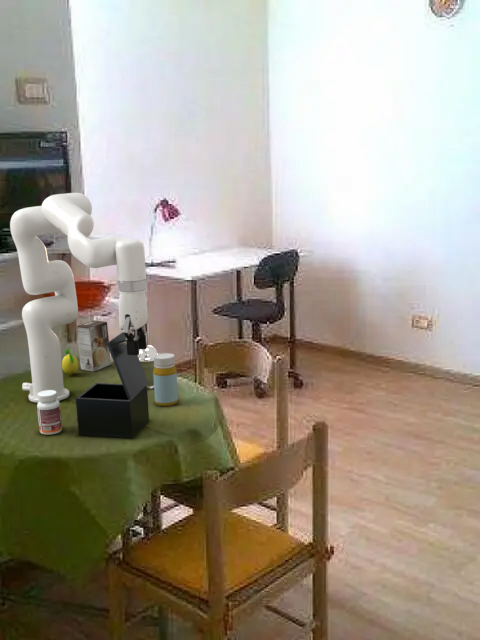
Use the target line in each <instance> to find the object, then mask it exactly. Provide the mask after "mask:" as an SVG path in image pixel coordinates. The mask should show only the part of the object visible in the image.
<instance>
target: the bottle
mask: <svg viewBox="0 0 480 640" xmlns="http://www.w3.org/2000/svg"><path fill="white" fill-rule="evenodd" d="M175 360H176V358H175V354H174V353H171V352H160V353H158V354H156V355H155V356H154V366H155V367H154V370H153V376H154V388H153V393H154V403H155V404H156V405H157V406H160V407H171V406H174V405H176V404H177V403H178V401H179V392H178V390H179V389H178V374H177V373H178V372H177V368H176V361H175Z"/></svg>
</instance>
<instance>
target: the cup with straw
mask: <svg viewBox="0 0 480 640" xmlns="http://www.w3.org/2000/svg"><path fill="white" fill-rule="evenodd" d="M131 333H134V332H133V331H131ZM145 335H146V344H147V348H146V349H139V355H138V358H139V361H140V363H141V366H142V368H143V371H144V374H145V376H146V379H147V382H148V384H147V390H151V389H154V376H153V370H154V367H155V366H154V356H155V355H156V354H159V353H158V351H157V349H156V348H155V347H154V346H152V345H149V344H148V334H147V331H146V334H145Z"/></svg>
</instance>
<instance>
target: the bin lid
mask: <svg viewBox="0 0 480 640" xmlns="http://www.w3.org/2000/svg"><path fill="white" fill-rule="evenodd" d="M139 339H140V335H139V334H137V340H139ZM107 345H108V348H109V351H110V357H111V359H112V360H113V363H114V366H115V369H116V371H117V374H118V377H119V380H120V382H121V384H122V385H123V387H124V390H125V392H126V395H127V398H128V400H130V399H132V398H133V397H134V396H135V395H136V394H137V393H138V392H139V391H140V390H141V389H142V388H143V387H145V386H146V385H147V384H148V382H147V379H146V376H145V374H144V371H143V368H142V366H141V363H140V361H139V358H138V355H128V354H127V343H126V337H125V335H124V333H123V331H121V332H120V333H119V334H117V335H115V337H113V338H112V339H109V342H107Z"/></svg>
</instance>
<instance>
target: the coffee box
mask: <svg viewBox="0 0 480 640" xmlns="http://www.w3.org/2000/svg"><path fill="white" fill-rule="evenodd" d="M76 330H77V340H78V343H77V344H78V352H79V353H78V354H79V362H80V363H79V365H80V370H82V371H86V372H93V373H94V372H96V371H99V370H101V369H104V368H106V367H108V366H111V365H112V364H111V353H110V351H109V348H108V345H107V342H109V341H110V339H109V327H108V321H104V320H103V321H102V320H96V319H95V320H91V321H88V322H85V323H82V324H78V325H76Z"/></svg>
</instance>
